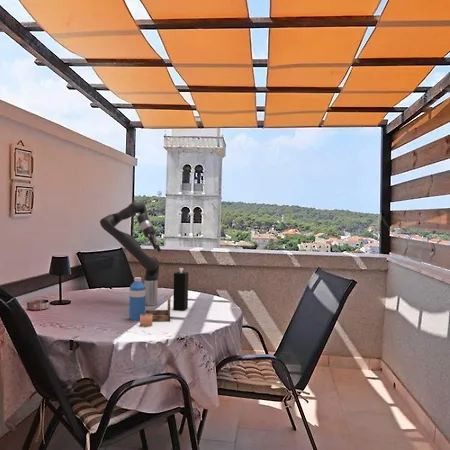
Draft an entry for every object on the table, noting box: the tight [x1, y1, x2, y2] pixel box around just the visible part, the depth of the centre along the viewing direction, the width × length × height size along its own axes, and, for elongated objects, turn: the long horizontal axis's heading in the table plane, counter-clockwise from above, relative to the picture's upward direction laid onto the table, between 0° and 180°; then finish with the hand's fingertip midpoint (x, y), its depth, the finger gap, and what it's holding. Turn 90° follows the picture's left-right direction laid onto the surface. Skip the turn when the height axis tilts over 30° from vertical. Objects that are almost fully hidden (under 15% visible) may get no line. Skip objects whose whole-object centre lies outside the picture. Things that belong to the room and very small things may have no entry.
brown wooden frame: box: [145, 294, 172, 323], centre depth 260 cm, size 15×15×13 cm
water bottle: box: [128, 276, 146, 322], centre depth 258 cm, size 9×9×25 cm
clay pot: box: [139, 312, 153, 328], centre depth 244 cm, size 7×7×6 cm
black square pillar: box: [172, 267, 189, 312], centre depth 286 cm, size 8×8×28 cm
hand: (157, 250), depth 274 cm, fingers open, 8 cm apart
